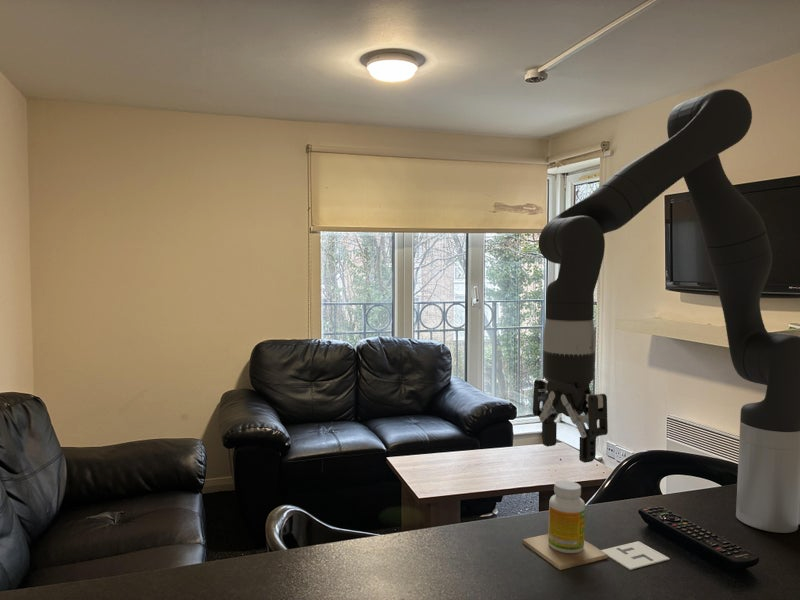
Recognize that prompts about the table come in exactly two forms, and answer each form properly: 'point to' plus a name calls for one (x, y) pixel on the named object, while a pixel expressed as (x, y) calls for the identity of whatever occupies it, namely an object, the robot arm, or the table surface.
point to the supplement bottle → (566, 518)
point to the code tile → (635, 555)
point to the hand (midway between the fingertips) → (567, 453)
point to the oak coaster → (563, 559)
